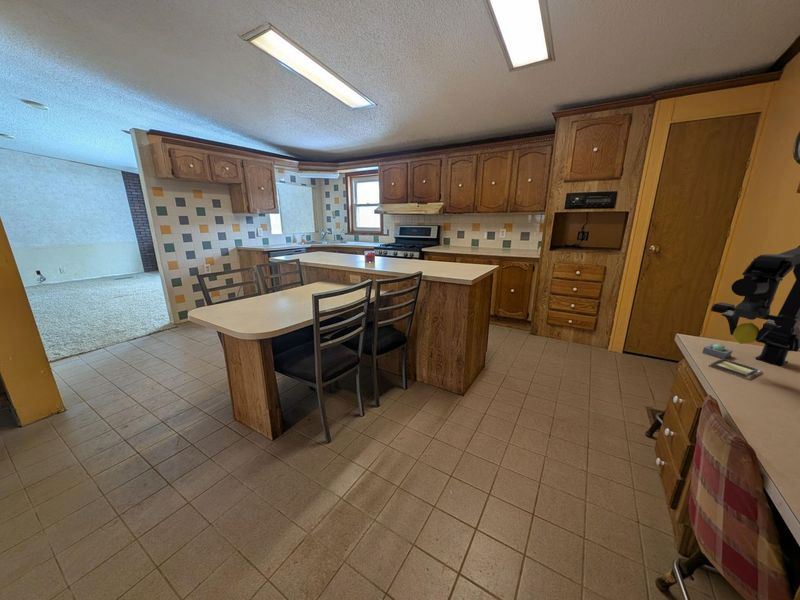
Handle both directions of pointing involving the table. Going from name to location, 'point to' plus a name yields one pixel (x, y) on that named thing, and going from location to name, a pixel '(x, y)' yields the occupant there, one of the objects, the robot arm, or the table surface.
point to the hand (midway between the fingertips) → (744, 337)
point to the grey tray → (736, 369)
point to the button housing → (717, 352)
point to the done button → (718, 347)
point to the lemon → (746, 333)
